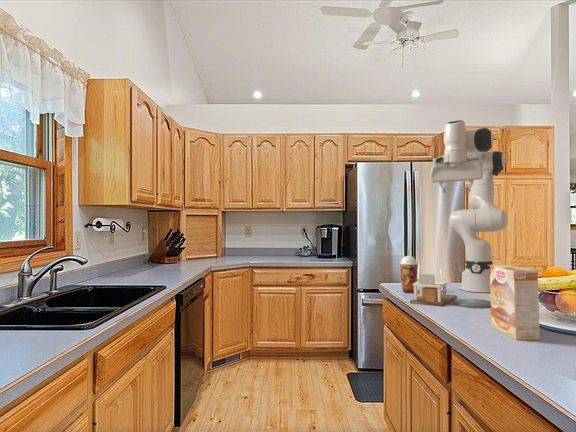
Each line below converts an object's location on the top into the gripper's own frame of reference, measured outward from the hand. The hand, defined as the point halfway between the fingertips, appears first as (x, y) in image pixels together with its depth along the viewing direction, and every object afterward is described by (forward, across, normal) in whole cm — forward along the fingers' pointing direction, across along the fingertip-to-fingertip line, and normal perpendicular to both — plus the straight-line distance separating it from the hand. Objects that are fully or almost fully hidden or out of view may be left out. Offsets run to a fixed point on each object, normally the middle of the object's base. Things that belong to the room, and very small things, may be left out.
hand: (456, 192), depth 171 cm
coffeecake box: (+46, -20, +44) cm, 67 cm away
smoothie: (+46, +24, -17) cm, 54 cm away
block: (+46, +10, +5) cm, 47 cm away
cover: (+44, +11, +5) cm, 46 cm away
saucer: (+46, -6, +4) cm, 46 cm away
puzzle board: (+46, +10, 0) cm, 47 cm away
